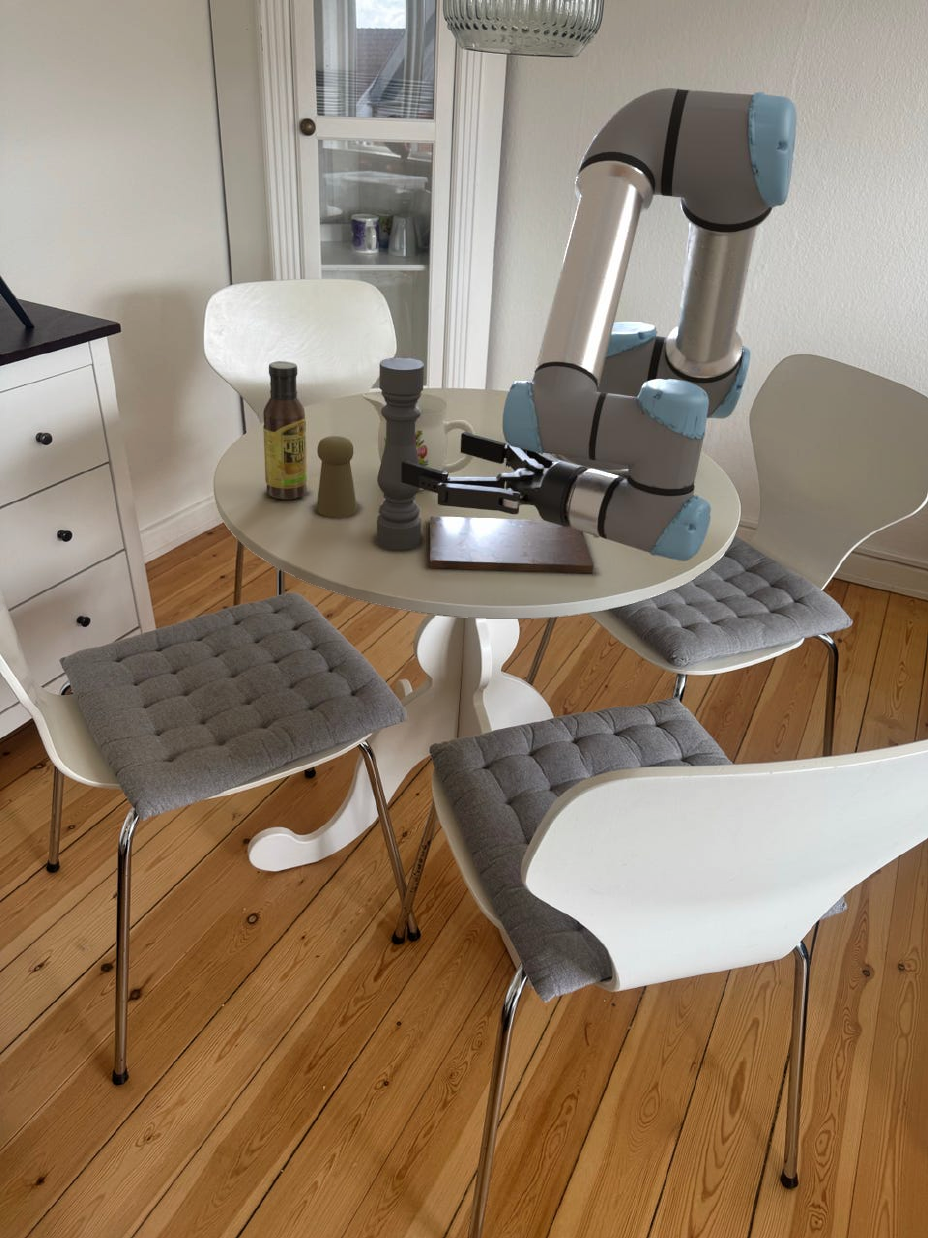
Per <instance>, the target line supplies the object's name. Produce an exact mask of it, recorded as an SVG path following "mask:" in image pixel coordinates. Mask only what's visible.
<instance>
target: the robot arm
mask: <svg viewBox="0 0 928 1238" xmlns="http://www.w3.org/2000/svg"><path fill="white" fill-rule="evenodd" d="M796 135H797V109H796V106H795V103H794V102H793V100H791V98H788V97H786V96H781V95H775V94H774V95H773V94H765V92H763V91H757V92H754V94H751V93H739V92H738V93H737V92H725V91H724V92H723V91H709V90H697V89H680V88H678V87H664V88H659V89H654V90H651V91H648V92H646V93H644V94H642V95H640V96H637V97H636V98H634V99H632V100H630V101H629V102H628V103H627V104H625V105H624V106H622V107H621V108H620V109H618V111H616V113H614V114H613V115H612V116H611V117H610V118H609V119H608V120H607V121H606V123H604V125H602V127H601V128H600V130H598V132H597V133H596V135H595V136H594V137H593V139H592V141H591V142H590V143H589V146H588V147H587V148H586V151H585V153H584V155H583V157H582V159H581V160H580V161H581V162H580V165H579V167H578V172H577V175H576V179H575V183H574V193H575V196H576V197H575V198H576V199H577V201H578V204H577V208H576V211H575V216H574V218H573V219H574V220H573V223H572V227H571V231H570V235H569V238H568V243H567V247H566V249H565V254H564V258H563V261H562V265H561V269H560V272H559V277H558V279H557V284H556V288H555V292H554V295H553V298H552V303H551V306H550V311H549V315H548V319H547V322H546V326H545V330H544V333H543V338H542V341H541V344H540V349H539V353H538V357H537V361H536V365H535V368H534V373H533V374H534V375H533V377H532V380H525V381H523V380H522V381H521V380H517V381H515V382H512V384H511V386H510V387H509V390H508V392H507V394H506V397H505V401H504V405H503V412H502V424H501V425H502V434H503V437H504V440H505V442H502V441H499V440H495V439H491V438H489V437H485V436H480V435H476V434H475V435H473V434H469V433H466V432H465V431H464V432H462V433H461V435H460V453H461V454H464V455H466V454H467V455H471V456H473V458H474V457H475V458H478V459H482V460H485V461H488V462H492V463H496V464H499V465H502V464H504V463H505V468H511V469H512V470H513V472H501V473H498V474H497V476H449V473H447V471H444V472H443V471H440V470H436V469H433V468H429V467H426V466H423V465H419V464H416V463H413V462H409V461H406V460H405V461H403V462H402V472H401V482H402V483H405V484H408V485H412V486H415V487H418V488H421V489H425V491H428V492H431V493H434V494H437V502H436V503H437V505H438V506H443V507H453V508H463V509H465V508H466V509H475V510H484V511H486V510H487V511H498V512H501V513H505V514H510V515H518V514H519V513H520V507H521V506H525V505H526V506H534V507H535V508H536V510H537V512H538V515H539V517H540V519H541V520H545V521H548V522H551V523H554V524H558V525H561V526H564V527H569V526H571V527H572V528H573V529H576V530H579V531H582V532H583V533H585V534H589V535H592V537H593V538H595V539H598V538H599V539H600V538H602V539H604V540H609V541H611V542H614V543H617V544H621V545H624V546H627V547H630V548H633V549H636V550H639V551H643V552H646V553H648V554H649V553H650V555H651V556H657V557H661V558H665V559H670V560H677V561H680V562H686V561H690V560H691V559H692V558H694V556H696V555H697V554H698V552H699V551H700V549H701V547H702V546H703V544H704V541H705V539H706V536H707V535H708V530H709V527H710V522H711V510H712V507H711V504H710V502H709V501H708V500H706V499H704V498H702V497H700V496H699V495H696V494H694V493H695V487H696V486H695V482H696V476H697V473H698V467H699V463H700V462H699V461H700V458H701V453H702V448H703V442H704V439H705V436H706V426H707V419H719V420H720V419H721V420H722V419H726V418H729V417H730V416H731V415H732V414H733V412H734V411H735V409H736V407H737V405H738V402H739V399H740V398H741V394H742V391H743V387H744V385H745V382H746V378H747V375H748V371H749V366H750V361H751V349H750V348H748V347H746V346H744V345H743V340H742V339H741V336H740V334H739V332H737V328H738V322H739V317H740V312H741V307H742V303H743V297H744V293H745V286H746V282H747V278H748V277H747V276H748V271H749V267H750V263H751V258H752V252H753V247H754V242H755V237H756V232H757V227H758V226H759V225H761V224H763V223H764V222H765V221H766V220H767V219H768V217H770V215H771V213H772V211H773V208H776V207H781V206H783V205H784V204H785V203H786V202H787V199H788V195H789V190H790V184H791V179H792V172H793V163H794V162H793V161H794V153H795V145H796ZM654 196H663V197H673V198H680V208H681V212H682V214H683V216H684V217H685V219H686V220H687V221H688V222H689V227H688V228H689V229H688V238H687V245H686V254H685V261H684V271H683V280H682V281H683V282H682V288H681V297H680V298H681V299H680V306H679V314H678V323H677V326H676V327H674V329H672V331H671V332H670V334H669V335H668V336H659V335H658V331H657V327H656V326H655V325H654V324H651V323H645V322H642V321H641V322H640V321H619V322H618V321H617V322H615V320H616V316H617V312H618V308H619V303H620V299H621V297H622V296H621V295H622V291H623V287H624V283H625V279H626V275H627V270H628V266H629V263H630V258H631V254H632V250H633V246H634V242H635V237H636V235H637V234H636V233H637V230H638V225H639V221H640V216H642V215H643V214H644V213H646V212H647V211H648V210H649V208H650V207H651V205H652V202H653V199H654ZM506 443H507V444H506ZM553 455H557V456H558V458H556V457H555V456H553Z"/></svg>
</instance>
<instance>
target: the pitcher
mask: <svg viewBox="0 0 928 1238" xmlns="http://www.w3.org/2000/svg"><path fill="white" fill-rule="evenodd" d="M362 398H363V399H365V400H366V401H368V402H369V403H370V404H372V405H373V407H374V408H375V410H376V412H377V414H378V417H379V426H378V431H377V450H378V457H379V462H381V460H382V456H383V452H384V448H385V444H386V420H385V418H384V417H383V416H382V414H381V409H382V407H384V406H385V405H386V402H385V400H384V397H383V396H382V392H367V393H366V392H365V393H362ZM416 406H417V407H418V408H419V409H420V410H421V414H420V417H419V418H417V421H415V444H416V449H417V454H418V459H419V463H420V465H423V466H426V467H429V468H433V469H436V470H440V471H443V472H444V471H447V473H448V474H451V473H455V472H458V471H461V470H463V469H465V468H466V467H467V466H468V465H469V464H470V463H471V462H472V460H473V459H474V456H471V455H467V454H465V455H464V456H463V457H462V458H461V459H459V460H458V461H456V462H455V463H454V462H453V463H446V458H447V454H448V447H449V446H448V445H449V436H448V433H449V432H451V431H452V430H456V429H460V430H463V431H464V432H466V433H469V434H473V435H476V432H475V429H474V428H473V426H472V425H471V424H470V423H469V422H467V421H466V420H464V419H463V420H462V419H455V420H452V421H445V417H446V413H447V410H448V402H447V401H446V400H444V399H443V398H442V397H438V396H436V395H432V394H427V393H421V396H420V398H419V399H418V402H417V404H416ZM424 490H425V489H421V488H420V489H419V491H418V492H420V491H424ZM425 491H426V490H425Z"/></svg>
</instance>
